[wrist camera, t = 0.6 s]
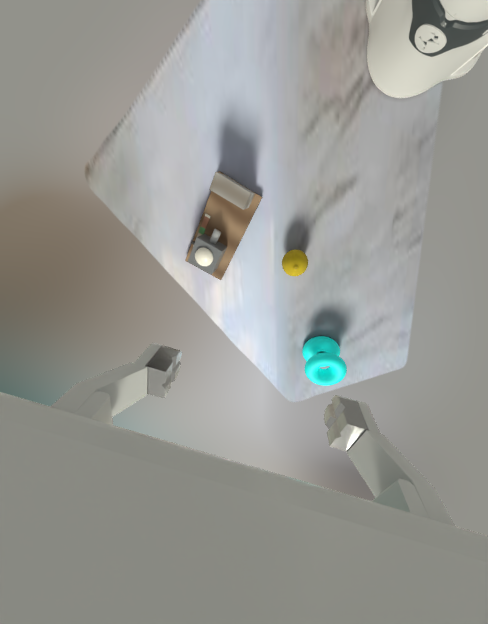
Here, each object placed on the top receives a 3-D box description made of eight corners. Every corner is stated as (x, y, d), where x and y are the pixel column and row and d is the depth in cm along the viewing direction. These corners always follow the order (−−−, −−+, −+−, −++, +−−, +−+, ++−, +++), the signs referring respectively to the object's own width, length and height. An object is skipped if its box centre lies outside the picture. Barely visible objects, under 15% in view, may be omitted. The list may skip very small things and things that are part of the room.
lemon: (277, 262, 51) (277, 273, 44) (290, 241, 48) (291, 249, 41) (297, 273, 52) (300, 285, 45) (310, 253, 49) (315, 262, 42)
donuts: (345, 354, 49) (350, 385, 53) (335, 330, 58) (340, 358, 62) (301, 361, 52) (309, 390, 56) (298, 337, 60) (306, 363, 65)
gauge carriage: (201, 218, 47) (192, 220, 43) (232, 236, 48) (227, 240, 43) (188, 252, 51) (179, 258, 47) (217, 268, 52) (210, 275, 48)
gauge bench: (220, 171, 44) (208, 167, 37) (262, 197, 45) (258, 197, 38) (187, 259, 54) (172, 268, 47) (222, 278, 55) (212, 290, 48)
